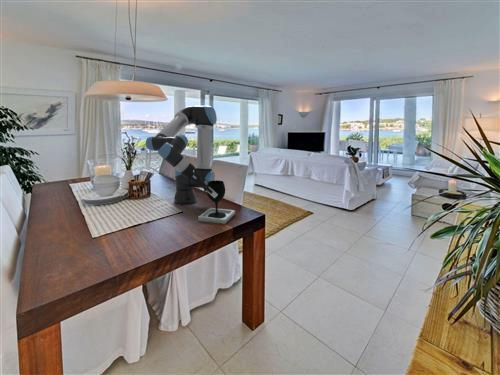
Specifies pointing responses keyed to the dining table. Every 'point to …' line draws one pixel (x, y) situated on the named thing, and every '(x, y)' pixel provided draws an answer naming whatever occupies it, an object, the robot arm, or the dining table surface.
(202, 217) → the tray
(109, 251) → the dining table surface
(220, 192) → the wine glass
